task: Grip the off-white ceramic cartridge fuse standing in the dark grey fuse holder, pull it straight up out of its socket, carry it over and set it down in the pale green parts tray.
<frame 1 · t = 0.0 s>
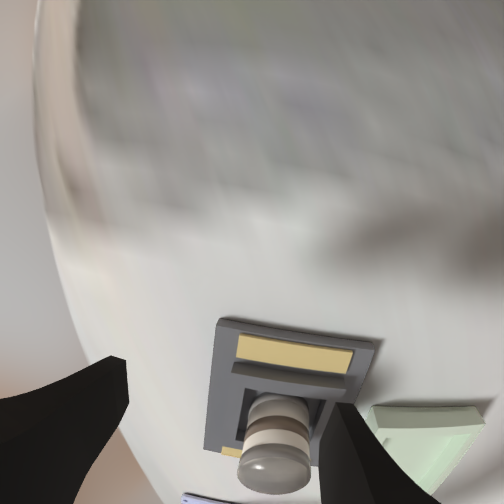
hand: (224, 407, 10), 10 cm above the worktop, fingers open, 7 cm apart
parts tray: (397, 459, 22), on the worktop
fuse holder: (279, 402, 21), on the worktop
fuse: (279, 411, 21), point 1 cm above the worktop, touching fuse holder
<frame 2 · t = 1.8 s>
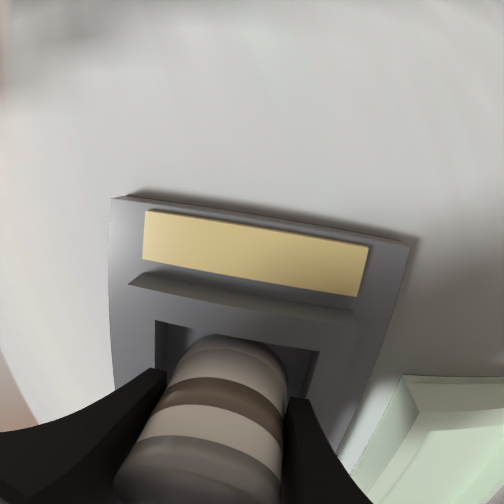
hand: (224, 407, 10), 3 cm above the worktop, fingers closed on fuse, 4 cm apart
parts tray: (432, 466, 13), on the worktop
fuse holder: (236, 365, 12), on the worktop
fuse: (232, 380, 11), point 1 cm above the worktop, touching fuse holder, gripper
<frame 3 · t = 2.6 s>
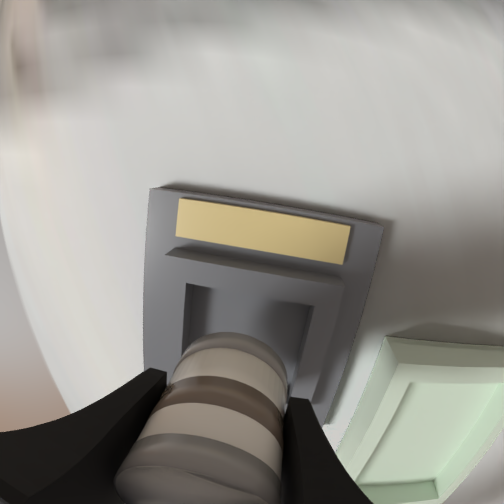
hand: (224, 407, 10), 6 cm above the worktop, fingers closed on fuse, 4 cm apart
parts tray: (419, 429, 16), on the worktop
fuse holder: (247, 326, 16), on the worktop
fuse: (232, 379, 11), point 4 cm above the worktop, touching gripper
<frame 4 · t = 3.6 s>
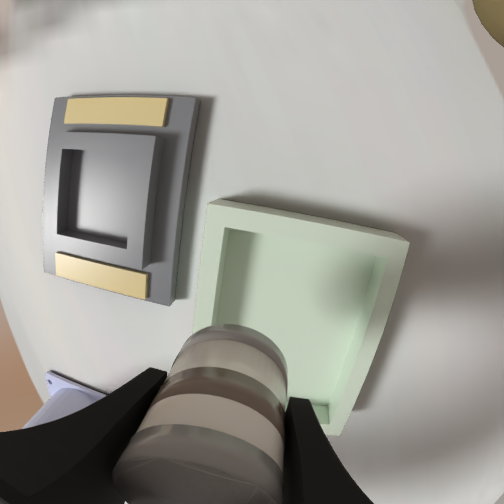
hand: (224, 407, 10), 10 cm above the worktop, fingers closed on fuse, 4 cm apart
parts tray: (286, 322, 19), on the worktop
fuse holder: (110, 193, 19), on the worktop
fuse: (231, 372, 11), point 8 cm above the worktop, touching gripper
squeeze bottle: (501, 19, 12), on the worktop
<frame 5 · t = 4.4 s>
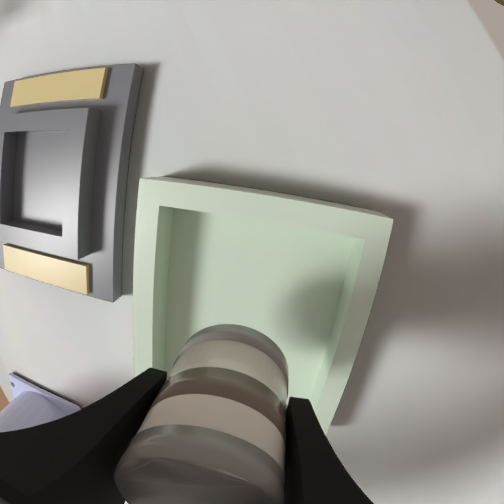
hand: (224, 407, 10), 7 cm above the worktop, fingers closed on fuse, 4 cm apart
parts tray: (247, 322, 16), on the worktop
fuse holder: (54, 177, 15), on the worktop
fuse: (232, 372, 11), point 5 cm above the worktop, touching gripper
when the fingers open (4 cm above the worktop, at t = 5.3 s): fuse drops 1 cm, resting on parts tray.
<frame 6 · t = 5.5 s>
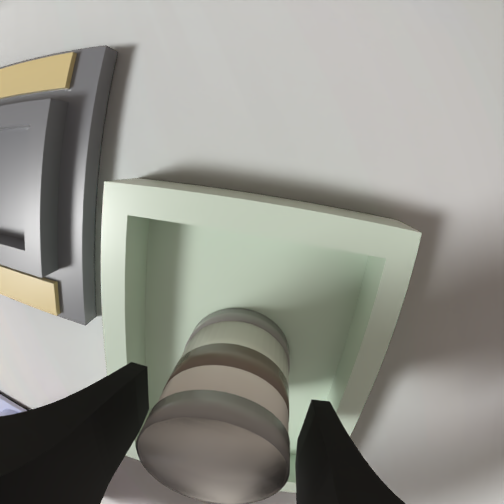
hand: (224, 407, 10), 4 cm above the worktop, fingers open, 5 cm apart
parts tray: (240, 351, 13), on the worktop
fuse holder: (21, 181, 13), on the worktop
fuse: (238, 353, 13), point 1 cm above the worktop, touching parts tray
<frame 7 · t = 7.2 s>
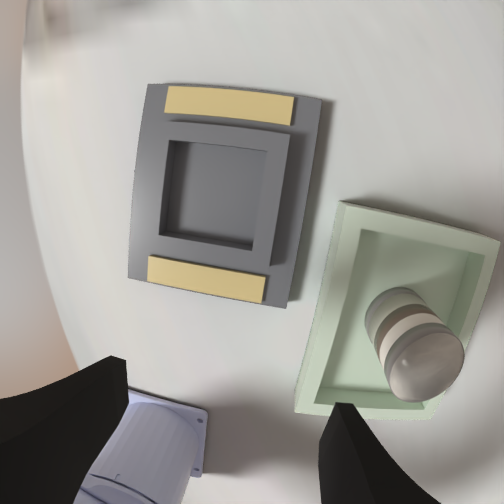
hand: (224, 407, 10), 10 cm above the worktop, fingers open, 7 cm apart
parts tray: (391, 317, 19), on the worktop
fuse holder: (218, 191, 19), on the worktop
fuse: (395, 317, 19), point 1 cm above the worktop, touching parts tray
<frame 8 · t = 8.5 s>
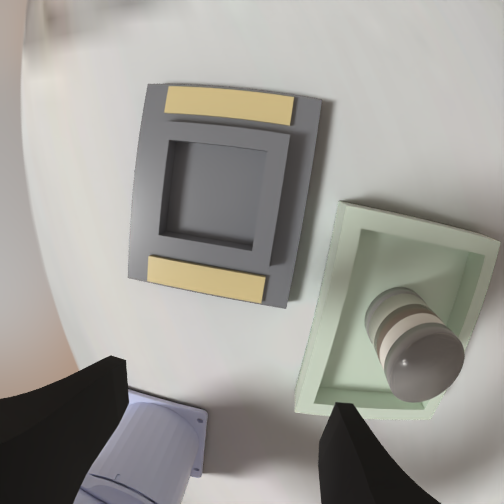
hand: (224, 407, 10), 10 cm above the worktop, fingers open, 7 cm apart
parts tray: (391, 317, 19), on the worktop
fuse holder: (218, 191, 19), on the worktop
fuse: (395, 317, 19), point 1 cm above the worktop, touching parts tray
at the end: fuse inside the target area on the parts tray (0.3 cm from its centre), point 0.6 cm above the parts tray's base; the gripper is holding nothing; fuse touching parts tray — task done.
